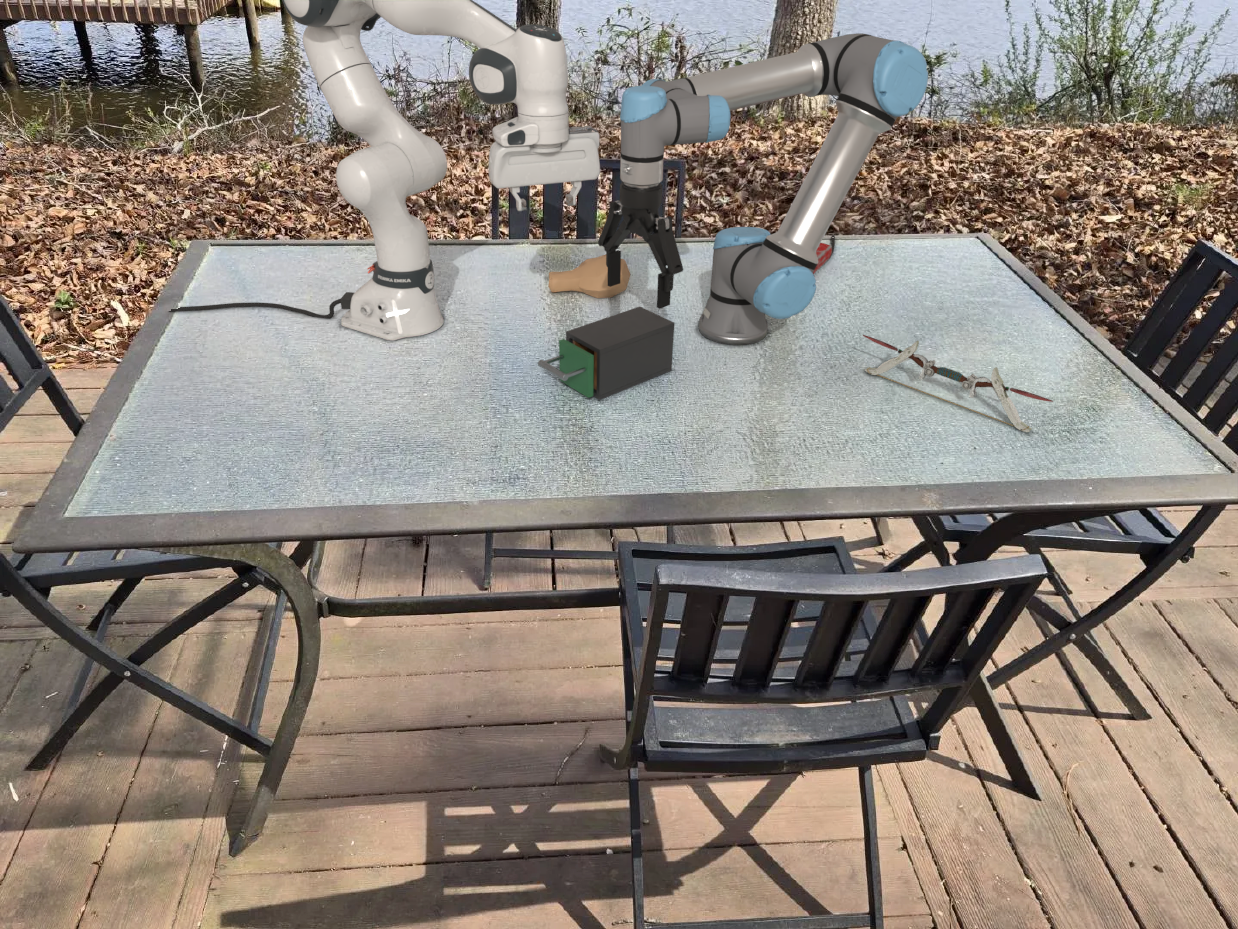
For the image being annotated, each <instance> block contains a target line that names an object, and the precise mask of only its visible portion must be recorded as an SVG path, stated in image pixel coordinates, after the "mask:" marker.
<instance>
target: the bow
mask: <svg viewBox="0 0 1238 929" xmlns="http://www.w3.org/2000/svg"><path fill="white" fill-rule="evenodd" d="M862 336H863V338H864V337H865V338H866V339H868V340H869V341H871V342H873V343H874V344H877V345H880V346H882V347H884V348H887V349H889V350H893V351H896V352H897V353H898V355H897V356H894V357H892V358H890V359H888V360H886V361H883V363H881V364H880V365H879V366H878V367H870V366H868V367H866V368H865V369H864V371H865V373H867V374H868V375H871V376H878V377H880V378H884V379H886V380H888V381H891V382H894V383H896V384H899V385H901V386H904V387H906V388H910V389H913V390H915V391H918V392H921V393H924V394H926V395H928V396H931V397H934V398H937V399H939V400H942V401H944V402H947V403H949V404H953V405H956V406H958V407H960V408H963V409H967V410H969V411H970V412H971V411H972V412H975V413H977V414H979V415H981V416H982V415H983V416H985V417H988V418H991V419H993V420H996V421H998V422H1001V423H1004V424H1007V425H1009V426H1012V427H1015V429H1016V430H1019V431H1021V432H1024V433H1030V432H1031V431H1032V430H1033V428H1032V427H1030V425H1027V424H1026V423H1025V422H1024V421H1022V420H1021V418H1020V414H1019V411H1018V409H1017V407H1016V406H1015V404H1014V402H1013V400H1012V399H1011V398H1010V397H1009V395H1008V393H1007V392H1009V391H1010V392H1012V393H1014V394H1018V395H1021V396H1023V397H1027V398H1031V399H1034V400H1038V401H1044V402H1050V403H1054V402H1055V400H1053V399H1049V398H1047V397H1044V396H1041V395H1038V394H1036V393H1032V392H1029V391H1026V390H1022V389H1019V388H1014V387H1009V386H1006V385H1005V384H1004V383H1005V381H1004V380H1003V378H1002V377H1001V375H1000V371H999V368H998V367H997V366H995V367H994V368H993V369H992V372H991V376H990V378H988V377H986V376H977V375H975V373H972V374H971V375H969V376H968V377H966V376H965V375H964V374H962V373H961V372H959V371H956V370H954V369H950V368H948V367H944V366H939V367H938V366H936V360H935V359H933V360H932V359H931V360H930V359H929V360H928V359H927V358H926V356H925V355H922V354H920V353H919V354H918V353H916V352H917V350H918V348H919V343H920V340H916V341H914V342H913V343H912V344H911V345H910V346H908V347H906V348H905V349H904V350H902V349H898V348H897V347H896V346H894V345H891V343H887V342H885V341H883V340H880V339H877V338H876V337H875V338H874V337H872V336H869V335H866V334H862ZM915 353H916V354H915ZM909 360H912V361H913V362H914V363H915V364H916V365H917V366H919V367H920V368H922V369H921V372H920V374H919V377H918V379H919V380H922V381H923V380H924V379H926V376H927V377H930V378H932V377H933V376H935V374H936V375H939V376H941V377H944V378H947V379H950V380H952V381H956V382H958V383H961V388H962V389H963V390H965V391H969V393H968V394H969V396H968V398H971V399H974V398H975V397H976V394H977V390H976V389H977V388H991V389H992V390H993V391H994V393H995V394H996V396H997V398H998V399H999V401H1000V403H1001V406H1002V408H1003V410H1004V411H1005V413H1006V415H1007V418H1008V419H1009V421H1010V422H1011V423H1009V422H1006V421H1004V420H1001V419H998V418H996V417H993V416H990V415H987V414H985V413H983V412H979V411H977V410H975V409H971V408H969V407H966V406H963V405H961V404H958V403H956V402H953V401H950V400H947V399H945V398H942V397H939V396H937V395H934V394H931V393H928V392H926V391H923V390H921V389H918V388H915V387H912V386H910V385H907V384H904V383H902V382H898V381H896V380H894V379H891V378H888V377H885V376H883V375H881V374H883V373H888V371H890V370H892V369H893V368H895V367H896V366H898V365H900V364H902V363H904V362H906V361H907V362H908V361H909Z"/></svg>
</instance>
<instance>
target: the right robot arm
mask: <svg viewBox="0 0 1238 929" xmlns="http://www.w3.org/2000/svg"><path fill="white" fill-rule="evenodd" d="M927 66H928V64H927V61H926V58H925V56H924V54H923V53H922V52H921V51H920V50H919V49H918V48H916V47H915V46H913V45H911V44H908V43H905V42H903V41H902V40H894V39H889V38H884V37H879V36H875V35H871V34H868V33H861V32H860V33H859V32H858V33H857V32H856V33H849V34H843V35H839V36H833V37H830V38H829V37H828V38H826V39H821V40H817V41H813V42H808V43H805V44H802V45H801V46H799V48H798V50H797V51H796V52H795V51H794V52H791V53H790V52H789V53H787V54H782V55H778V56H774V57H769V58H765V59H761V60H756V61H752V62H749V63H748V62H747V63H743V64H738V65H734V66H731V67H730V66H729V67H726V68H722V69H721V68H720V69H717V70H713V71H709V72H708V71H707V72H704V73H700V74H695V75H692V76H686V77H682V78H677V79H673V80H672V79H671V80H668V81H666V80H665V79H661V78H651V79H648V80H646V81H645V82H643V83H642V84H641V85H635V86H630V87H627V88H626V89H625V90H624V91H623V92H622V95H621V103H620V105H621V106H620V115H619V120H620V168H619V170H620V171H619V175H620V176H619V179H620V181H621V183H620V184H619V200H615V201H611V202H610V203H609V210H608V215H607V217H606V221H605V222H604V226H603V227H602V230H601V233H600V236H599V238H598V240H597V244H598V246H599V247H602V248H604V251H605V254H606V266H607V267H608V286H609V287H611V286H614V285H617V284H620V278H621V259H622V250H619V249H621V247H620V246H621V245H622V244H623V243H624V241H625V240H626V238H627V237H628V236H629V235H630V234H633V235H637V236H638V237H640V238H642V239H643V240H644V242H645V243H647V244H648V247H649V249H650V251H651V253H652V255H653V257H654V259H655V261H656V264H657V266H658V268H659V270H660V272H659V273H658V274H657V291H656V308H657V309H659V310H660V309H663V308H665V307H668V306H670V305H671V294H672V293H671V292H672V291H673V289H674V276H675V275H677V274H679V273H682V272H683V271H684V266H683V263H682V259H681V255H680V252H679V249H678V245H677V240H676V238H675V234H674V231H673V218H672V217H671V216H666V217H663V216H660V214H659V209H660V206H661V205H662V202H663V184H662V182H663V180H664V158H665V147H666V146H678V145H689V144H702V143H705V144H708V143H711V142H716V141H721V140H723V139H724V138H725V137H726V136H727V135H728V132H729V130H730V127H731V112H732V111H735V110H741V109H744V108H748V107H753V106H757V105H761V104H765V103H769V102H774V101H778V100H782V99H785V98H790V97H794V96H798V95H802V94H803V95H804V96H805V97H806V98H812V97H813V98H814V97H818V96H834V97H837V98H836V101H835V105H836V110H837V116H836V118H835V119H834V122H833V124H832V126H831V127H830V130H828V133H827V136H826V137H825V139H824V141H823V143H822V144H821V147H820V149H819V150H818V152H817V155H816V156H815V159H814V161H813V162H812V164H811V166H810V168H809V170H808V172H807V174H806V176H805V178H804V179H803V181H802V184H801V185H800V187H799V190H798V191H797V193H796V195H795V197H794V199H793V201H792V202H791V205H790V207H789V209H788V210H787V212H786V214H785V216H784V218H783V220H782V222H781V224H780V225H779V228H778V230H777V231H776V232H774V233H771V232H770V231H769V230H767V229H765V228H762V227H756V226H734V227H727V228H723V229H721V230H720V231H718V232H717V233H716V235H715V238H714V243H713V246H712V250H713V252H712V265H711V275H710V276H711V277H710V289H709V290H710V291H709V297H708V299H707V302H706V303H705V306H704V309H703V311H702V314H701V315H700V318H699V321H698V331H699V333H700V334H701V335H702V336H703V337H704V338H705V339H708V340H710V341H713V342H715V343H719V344H723V345H729V346H747V345H753V344H756V343H759V342H761V341H763V340H764V339H765V338H766V337H767V334H768V328H769V324H768V320H767V318H766V315H767V316H768V317H769V318H772V319H775V320H776V319H777V320H785V319H790V318H791V317H793V316H797V315H799V314H800V313H801V312H803V311H804V310H805V309H806V308H807V307H808V306H809V305H810V303H811V302H812V300H813V298H814V297H815V294H816V290H817V285H816V283H817V280H816V276H815V273H814V274H813V272H814V270H815V268H816V266H817V264H818V258H817V255H816V250H817V248H818V247H819V245H820V243H822V241H823V239H824V237H825V235H826V234H827V232H828V230H829V228H830V226H831V224H832V222H833V221H834V219H835V217H836V215H837V213H838V211H839V209H840V208H841V206H842V204H843V202H844V200H845V198H846V196H847V195H848V193H849V191H850V189H851V187H852V185H853V183H854V181H855V179H856V178H857V176H858V174H859V172H860V170H861V169H862V166H863V164H864V163H865V161H866V160H867V157H868V155H869V153H870V152H871V150H872V148H873V146H874V144H875V143H876V141H877V139H878V137H879V135H881V134H883V133H885V132H888V131H890V130H892V128H893V127H894V124H895V123H896V121H897V119H898V117H902V116H907V115H908V114H909V113H910V112H913V111H914V110H915V109H916V108H917V107H918V106H919V104H920V103H921V102H922V100H923V99H924V96H925V93H926V90H927V88H928V81H929V71H928V68H927ZM622 218H623V220H622ZM621 220H622V221H621ZM832 237H834V238H832ZM835 244H836V236H835V235H834V234H832V235H831V243H830V245H831V246H832V253H831V256H830V258H829V259H828V260H827V261H826V262H825V263H824V264H823V265H822V266H821V267H823V266H825V264H826V263H827V262H828V261H829V260H830V259H831V258H832V256H833V255H834V251H835V246H836V245H835Z"/></svg>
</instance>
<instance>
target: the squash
mask: <svg viewBox="0 0 1238 929" xmlns="http://www.w3.org/2000/svg"><path fill="white" fill-rule="evenodd" d="M630 279H631V272H630V269H629V266H628V263H627V261H626V259H624V258H621V278H620V284H617V285H614V286H611V287H609V286H608V267H607V266H606V253H605V254H602V255H599V256H597V257H591V258H586V259H585V260H583V261H582V262H580V264H579V265H578V266H577V267H575V268H574V269H571V270H563V271H562V270H561V271H550V272H548V284H547V288H548V289H549V290H550V292H551V293H560V292H571V291H572V292H573V291H574V292H579V293H583V294H586V295H587V296H590V297H593V298H595V299H606V298H609V299H610V298H613V297H615V296H617V295H619V294H621V293H623V292H626V290H627V288H628V286H629V282H630Z"/></svg>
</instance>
